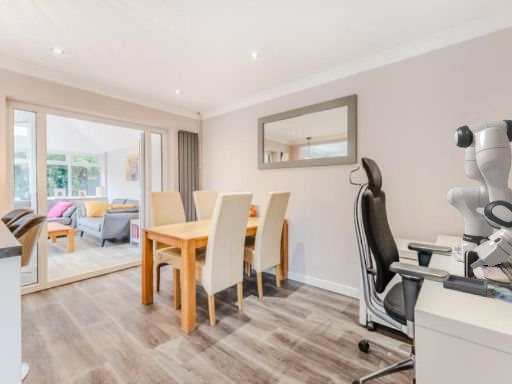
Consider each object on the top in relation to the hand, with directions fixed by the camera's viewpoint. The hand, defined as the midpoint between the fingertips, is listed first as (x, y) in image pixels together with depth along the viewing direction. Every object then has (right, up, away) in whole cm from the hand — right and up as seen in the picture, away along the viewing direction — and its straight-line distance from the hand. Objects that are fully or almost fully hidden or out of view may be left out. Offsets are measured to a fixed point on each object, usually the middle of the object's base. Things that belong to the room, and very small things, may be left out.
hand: (469, 264), depth 102 cm
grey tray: (-10, -6, -10) cm, 15 cm away
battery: (0, -6, 0) cm, 6 cm away
